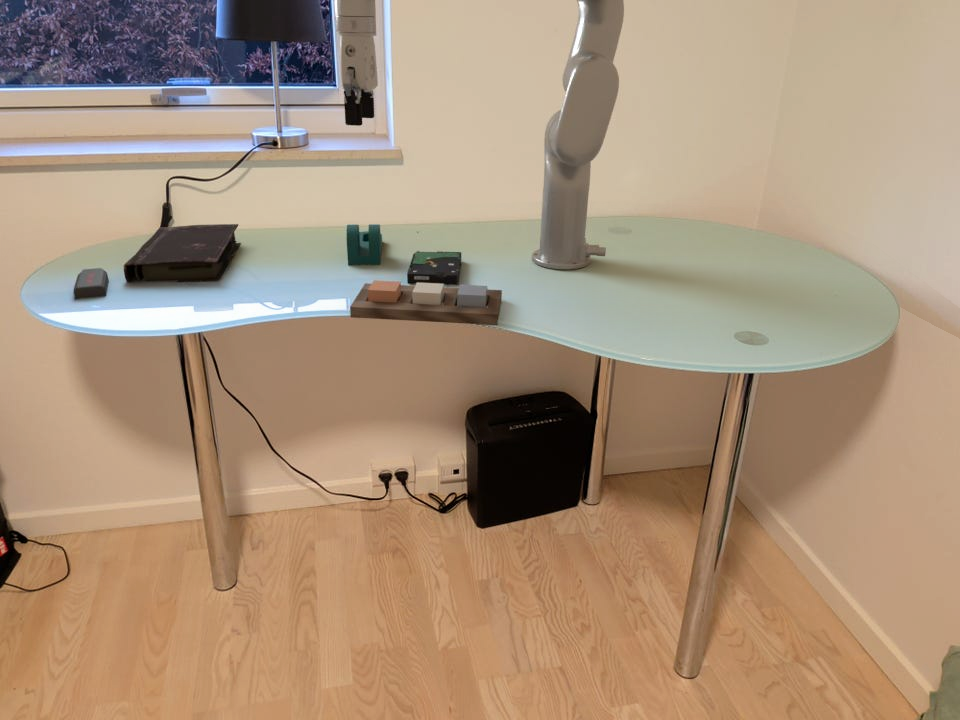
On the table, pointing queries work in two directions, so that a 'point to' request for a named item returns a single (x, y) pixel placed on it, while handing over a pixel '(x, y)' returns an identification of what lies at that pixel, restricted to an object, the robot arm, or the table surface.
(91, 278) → the dark grey block
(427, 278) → the disk drive
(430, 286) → the white button
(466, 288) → the slate button
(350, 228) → the bracket
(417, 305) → the panel
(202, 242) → the diary
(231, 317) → the table surface
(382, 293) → the terracotta button
